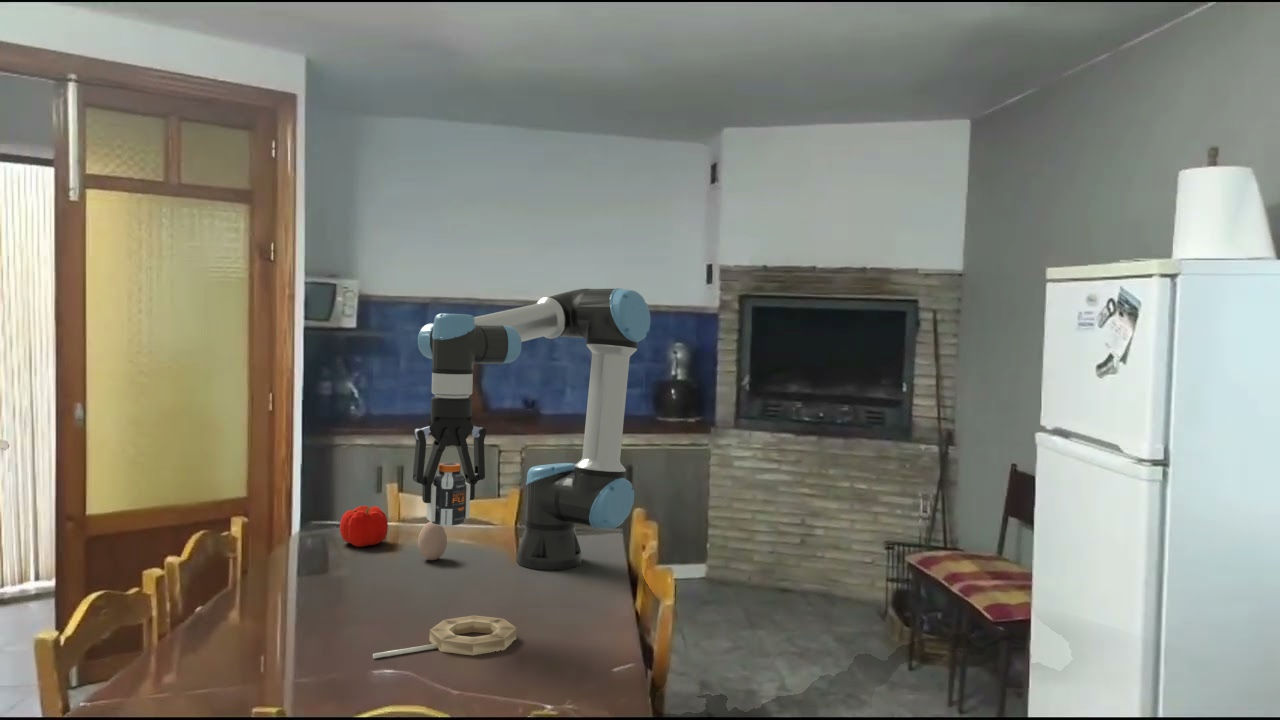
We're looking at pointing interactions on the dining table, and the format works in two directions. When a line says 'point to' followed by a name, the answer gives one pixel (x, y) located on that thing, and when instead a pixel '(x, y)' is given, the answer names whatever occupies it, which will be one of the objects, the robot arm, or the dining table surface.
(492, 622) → the beige flat ring
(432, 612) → the dining table surface
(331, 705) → the dining table surface
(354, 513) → the tomato
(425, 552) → the egg
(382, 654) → the white thin rod
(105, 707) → the dining table surface
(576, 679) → the dining table surface
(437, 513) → the pill bottle
